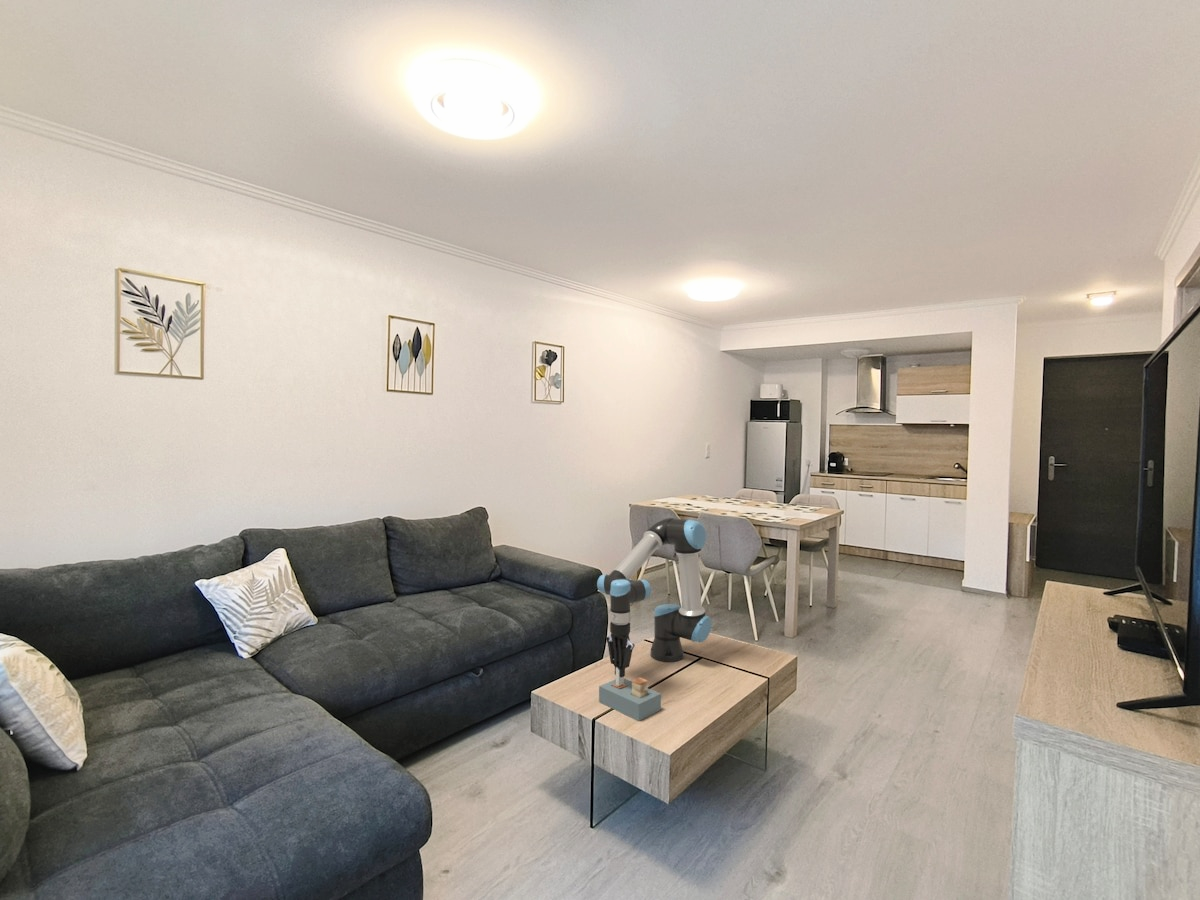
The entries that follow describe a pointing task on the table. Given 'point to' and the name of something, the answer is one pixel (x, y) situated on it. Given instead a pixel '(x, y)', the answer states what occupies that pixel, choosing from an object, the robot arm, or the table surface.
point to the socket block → (629, 700)
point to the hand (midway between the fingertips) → (619, 684)
